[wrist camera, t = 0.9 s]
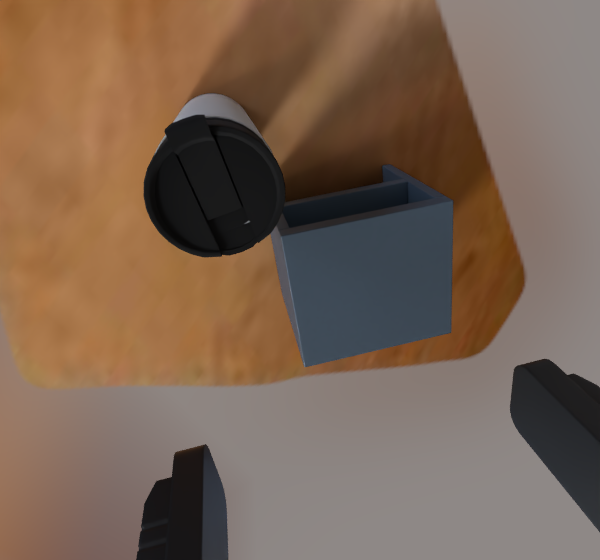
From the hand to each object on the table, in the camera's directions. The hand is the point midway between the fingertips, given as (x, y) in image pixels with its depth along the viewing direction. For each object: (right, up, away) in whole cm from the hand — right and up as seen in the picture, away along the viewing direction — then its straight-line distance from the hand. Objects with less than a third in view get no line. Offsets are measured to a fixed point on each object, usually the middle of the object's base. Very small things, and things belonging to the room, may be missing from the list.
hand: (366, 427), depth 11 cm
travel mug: (-9, +16, +25) cm, 31 cm away
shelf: (+2, +8, +31) cm, 32 cm away
